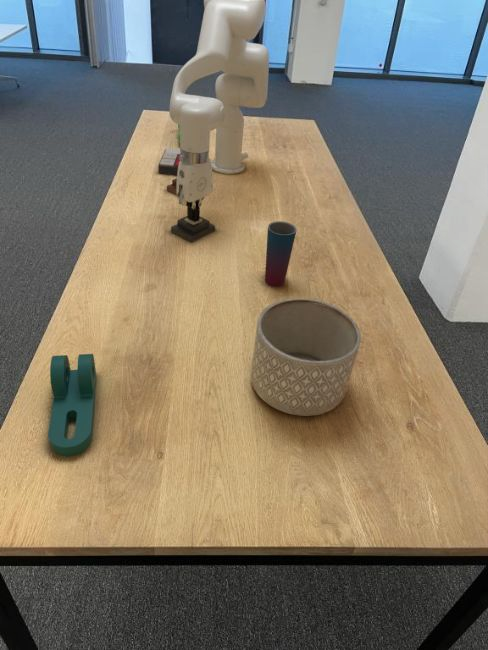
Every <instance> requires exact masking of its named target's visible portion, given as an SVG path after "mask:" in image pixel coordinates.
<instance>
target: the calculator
mask: <svg viewBox="0 0 488 650" xmlns="http://www.w3.org/2000/svg"><path fill="white" fill-rule="evenodd" d="M179 156H180V149H176V148H165V150H164V152H163V154H162V157H161V158H160V161H159V163H158V167H157V168H158V169H157V170H158V174H160V175H169V176H170V175H171V176H177V173H178V166H179V162H180V159H179Z"/></svg>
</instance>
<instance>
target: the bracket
mask: <svg viewBox="0 0 488 650" xmlns="http://www.w3.org/2000/svg"><path fill="white" fill-rule="evenodd" d="M70 365H71V364H70V359H69V357H68V355H67V354H63V355H52V356H51V358H50V367H49V377H50V379H49V380H50V386H51V391H52V396H53V399H52V407H51V413H50V418H49V419H50V420H49V426H48V432H47V436H48V441H49V445H50V449H51V450H52V451H53V452H54V453H55V454H56V455H59V456H62V457H72V456H73V457H74V456H76V455H79V454H81V453H83V452H84V451H86V450H87V449H88V448H89V447H90V445H91V444H92V442H93V435H94V422H95V421H94V420H95V410H96V409H95V405H96V394H97V379H98V378H97V377H98V376H97V370H96V369H97V368H96V362H95V357H94V353H81V354H80V353H79V354H78V356H77V369H71V366H70ZM72 420H75V428H74V435H73V437H71V438H68V431H69V423H70V422H71V421H72Z"/></svg>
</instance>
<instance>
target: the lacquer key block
mask: <svg viewBox="0 0 488 650" xmlns="http://www.w3.org/2000/svg"><path fill="white" fill-rule="evenodd" d="M186 218H187V215H186V216H183V217H182V218H178V219H177V220H176V224H174V225H172V226H170V233H171V234H174V235H175V236H178V237H179V238H182V239H184V240H186V241H187V242H190V243H193V242H195V241H197V240H199V239H201V238H203V237H205V236H207V235H209V234H211V233H213V232H215V231H216V224H213V223H211V221H210V220H209V219H206V218H204V217H202V216H200V219H202V222H200V223H198V224H196V225H192V224H190V223H188V222H186V221H185V219H186Z"/></svg>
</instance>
